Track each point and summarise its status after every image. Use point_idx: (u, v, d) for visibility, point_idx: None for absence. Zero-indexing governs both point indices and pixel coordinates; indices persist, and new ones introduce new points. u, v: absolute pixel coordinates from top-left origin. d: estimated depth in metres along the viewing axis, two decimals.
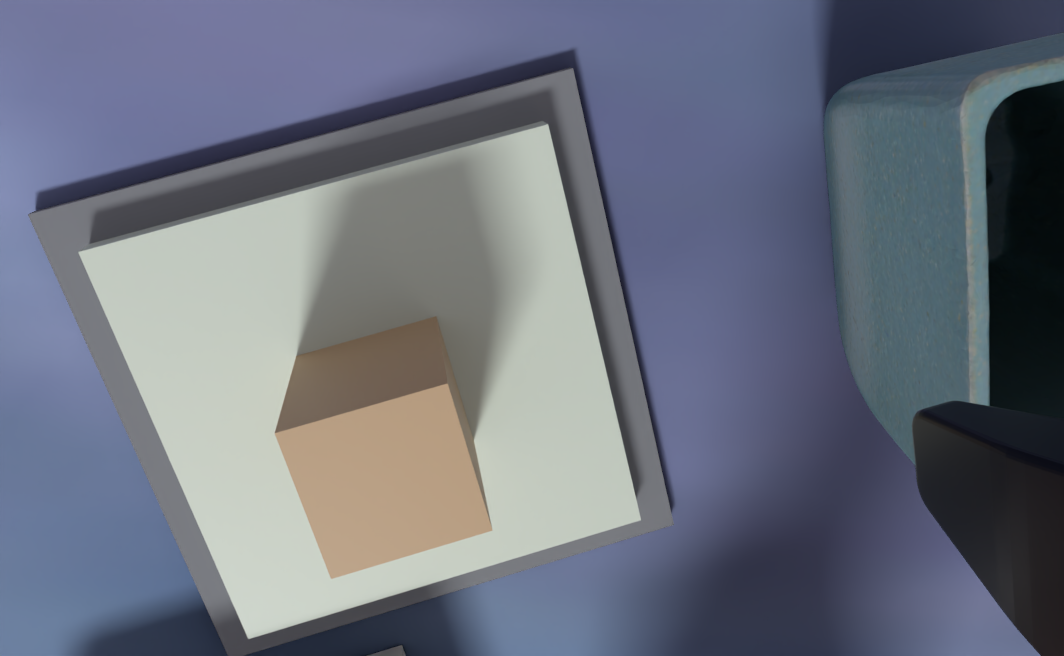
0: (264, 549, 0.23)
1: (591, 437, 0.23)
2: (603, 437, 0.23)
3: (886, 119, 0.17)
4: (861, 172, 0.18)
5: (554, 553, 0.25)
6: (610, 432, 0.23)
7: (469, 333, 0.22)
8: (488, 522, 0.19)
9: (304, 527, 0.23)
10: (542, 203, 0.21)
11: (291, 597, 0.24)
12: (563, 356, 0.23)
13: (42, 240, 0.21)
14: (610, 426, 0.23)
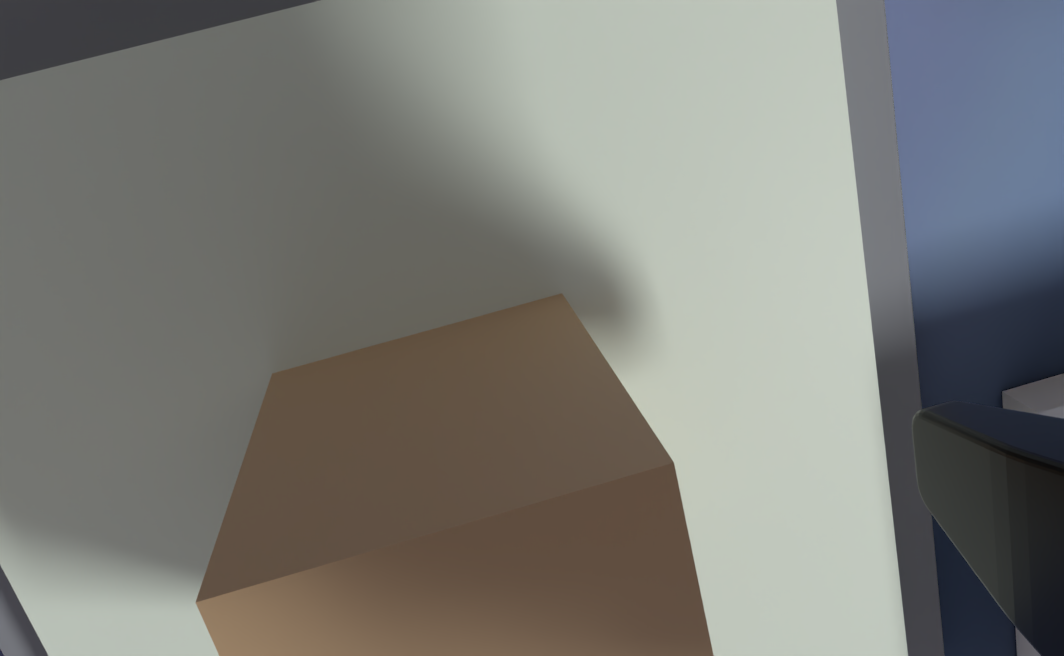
0: None
1: (580, 16, 0.10)
2: None
3: None
4: None
5: (873, 89, 0.11)
6: None
7: (310, 306, 0.10)
8: (647, 473, 0.06)
9: (710, 596, 0.12)
10: None
11: (846, 614, 0.13)
12: (365, 90, 0.10)
13: None
14: None
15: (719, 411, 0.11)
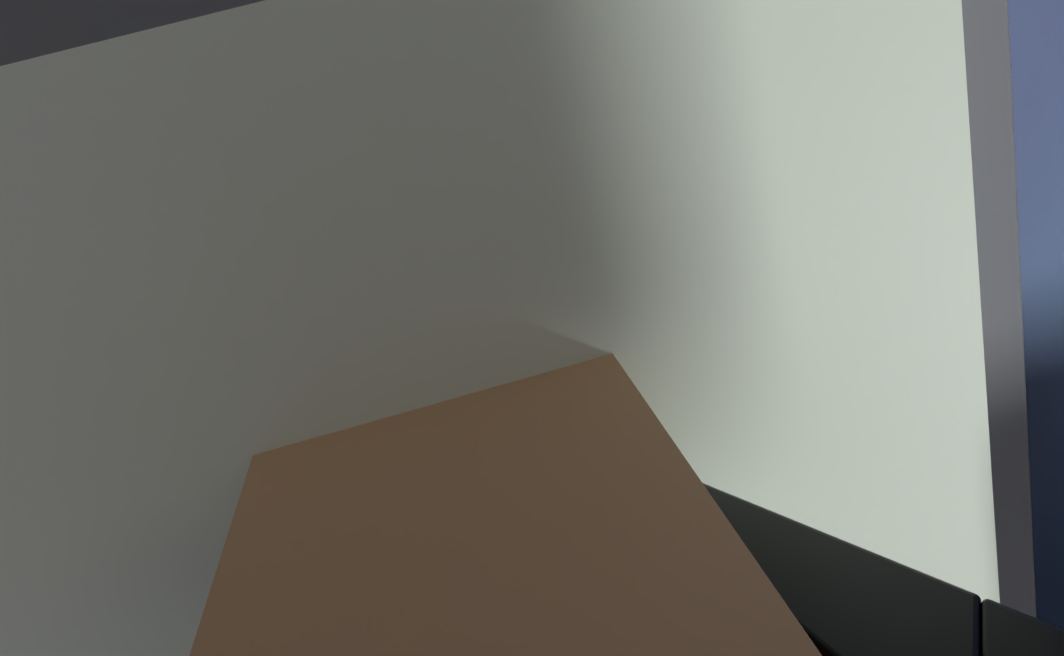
0: None
1: (641, 9, 0.08)
2: None
3: None
4: None
5: (990, 100, 0.09)
6: None
7: (300, 372, 0.08)
8: None
9: None
10: None
11: None
12: (369, 103, 0.07)
13: None
14: None
15: (799, 492, 0.09)
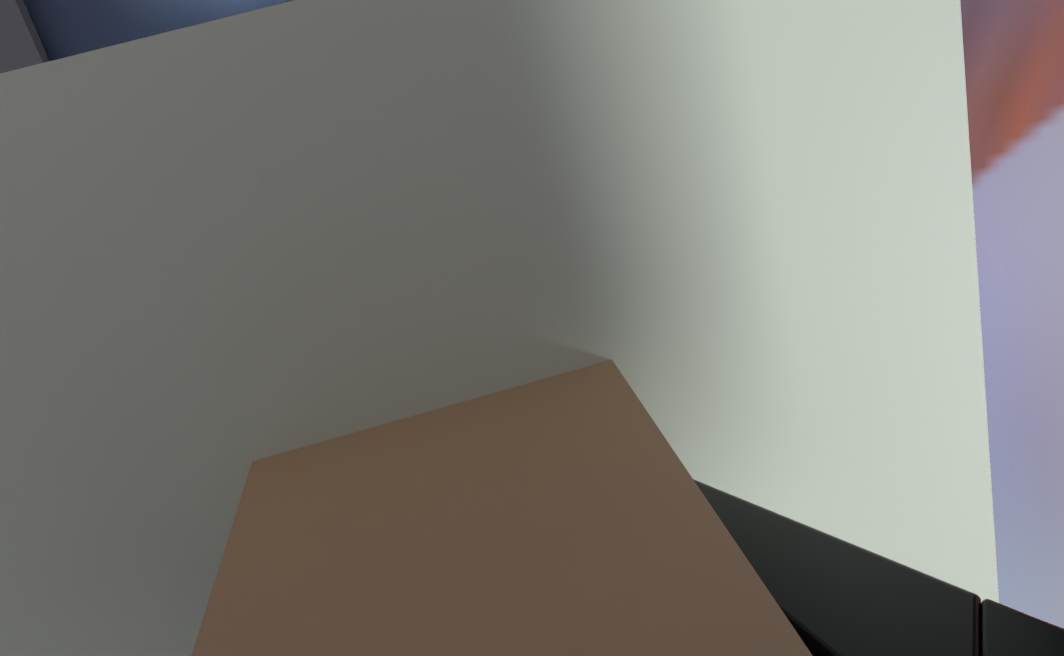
0: None
1: (640, 16, 0.08)
2: None
3: None
4: None
5: None
6: None
7: (299, 378, 0.08)
8: None
9: None
10: None
11: None
12: (368, 110, 0.07)
13: None
14: None
15: (799, 497, 0.09)
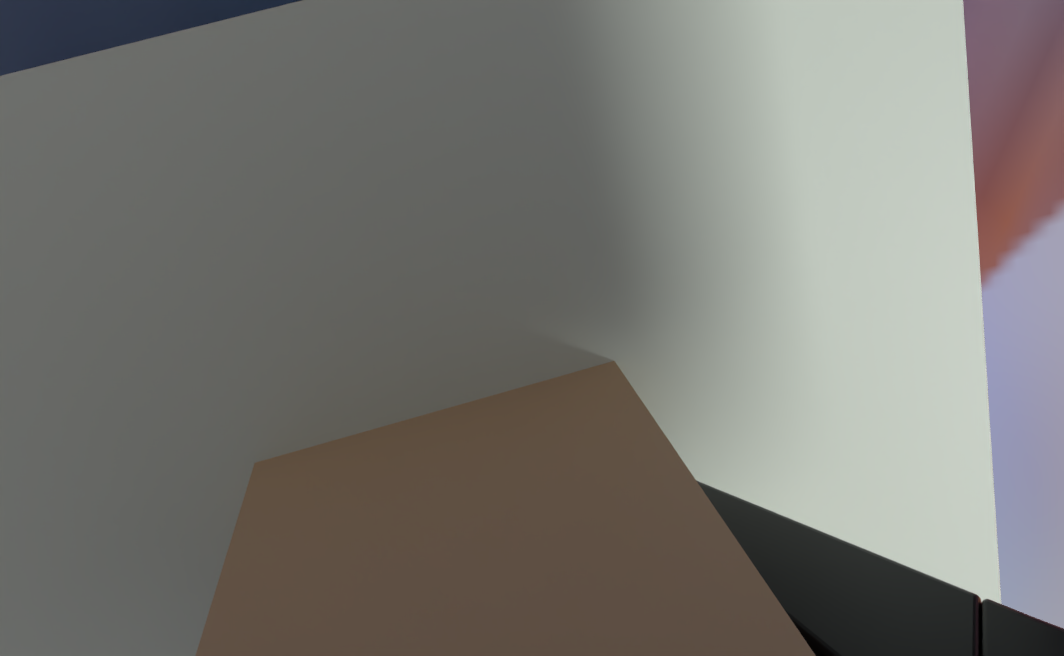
0: None
1: (643, 17, 0.08)
2: None
3: None
4: None
5: None
6: None
7: (301, 380, 0.08)
8: None
9: None
10: None
11: None
12: (370, 112, 0.07)
13: None
14: None
15: (801, 498, 0.09)
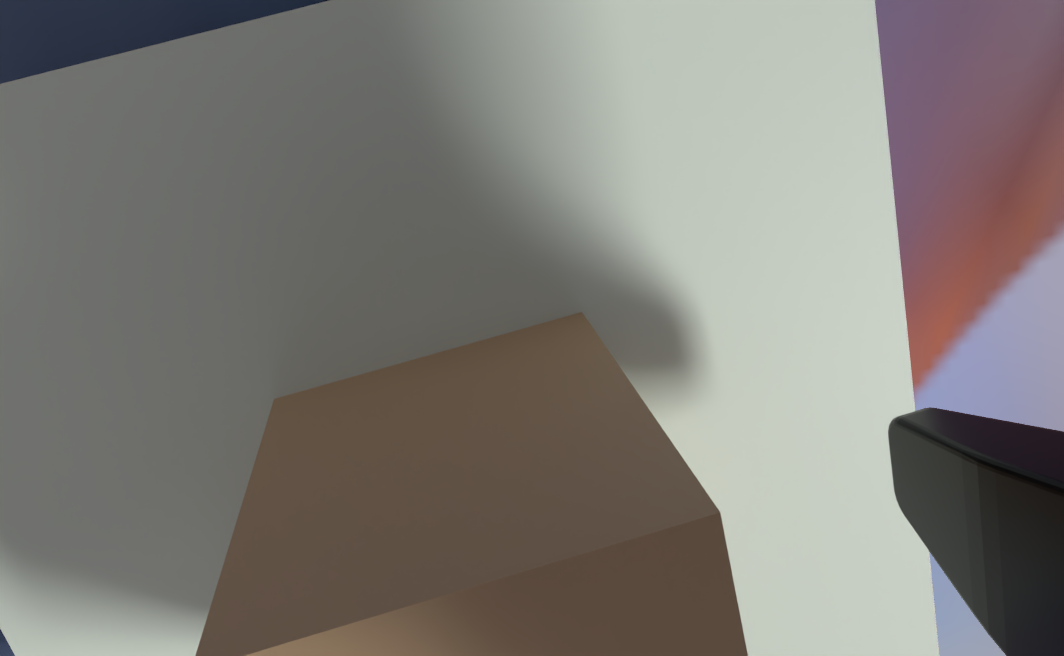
0: None
1: (602, 17, 0.09)
2: None
3: None
4: None
5: None
6: None
7: (314, 327, 0.10)
8: (690, 524, 0.06)
9: None
10: None
11: (878, 645, 0.12)
12: (373, 96, 0.09)
13: None
14: None
15: (747, 435, 0.11)
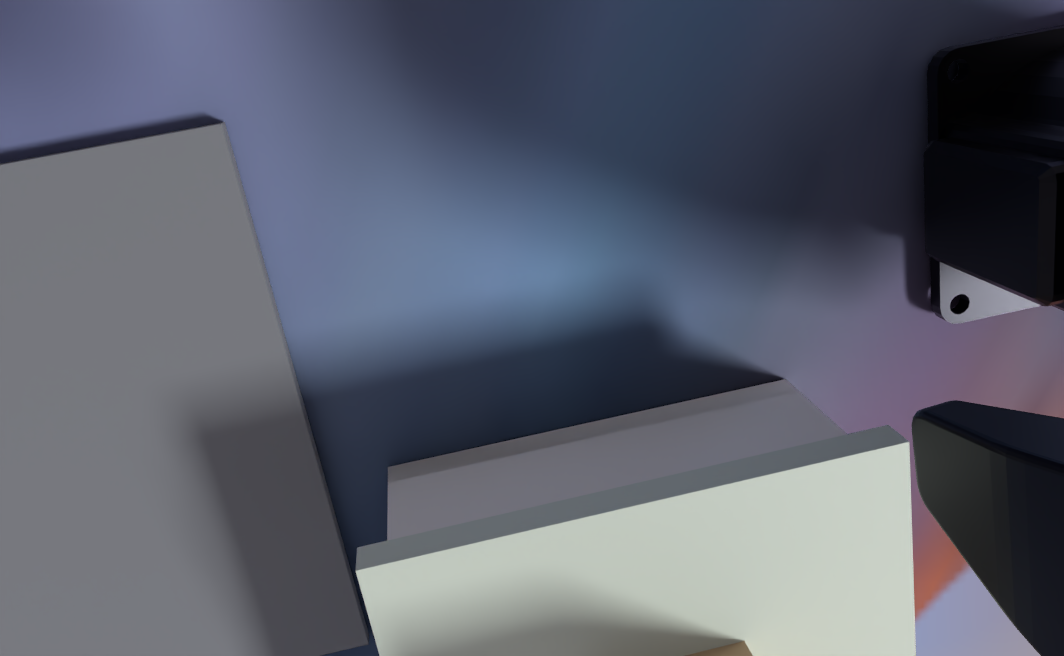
0: None
1: (773, 508, 0.18)
2: (777, 494, 0.17)
3: None
4: None
5: (255, 291, 0.19)
6: (772, 485, 0.17)
7: (607, 647, 0.18)
8: None
9: None
10: (454, 574, 0.17)
11: None
12: (656, 544, 0.17)
13: None
14: (764, 485, 0.17)
15: None
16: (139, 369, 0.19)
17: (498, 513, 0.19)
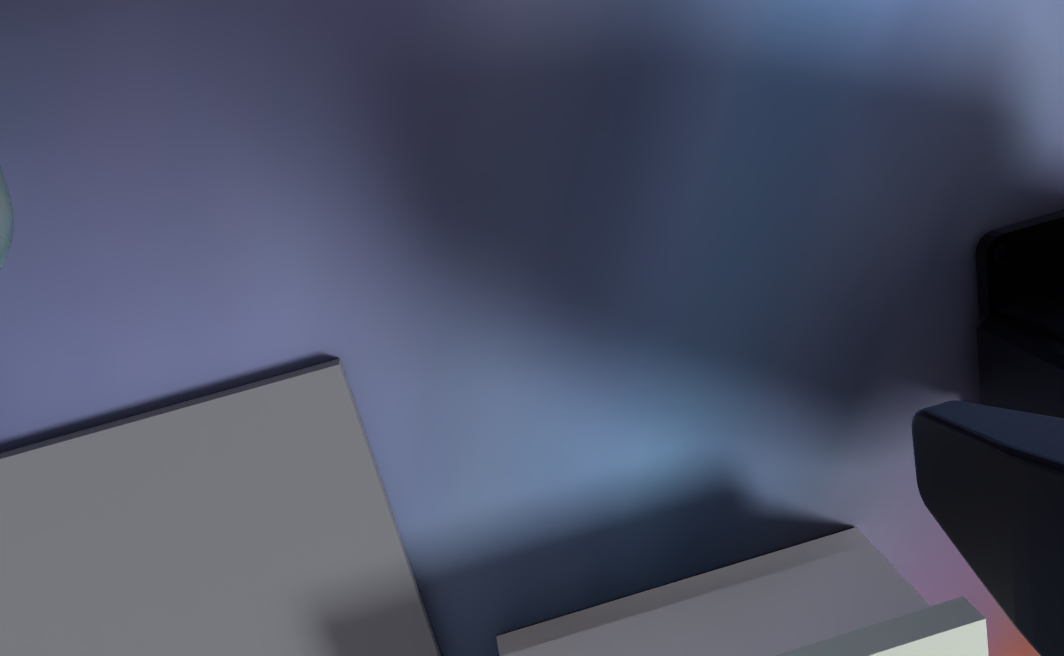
0: None
1: None
2: None
3: None
4: None
5: (373, 501, 0.21)
6: None
7: None
8: None
9: None
10: None
11: None
12: None
13: None
14: None
15: None
16: (272, 577, 0.21)
17: None
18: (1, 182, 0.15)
